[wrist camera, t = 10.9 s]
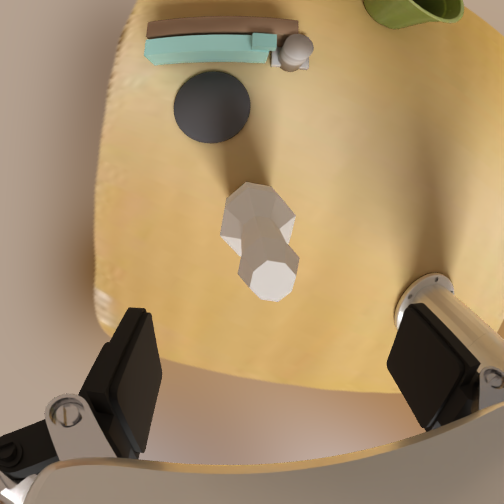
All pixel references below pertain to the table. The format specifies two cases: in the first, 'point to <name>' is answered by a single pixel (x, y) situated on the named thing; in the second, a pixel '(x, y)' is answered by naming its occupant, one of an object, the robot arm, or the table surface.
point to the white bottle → (261, 239)
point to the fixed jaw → (288, 40)
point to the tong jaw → (210, 48)
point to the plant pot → (414, 11)
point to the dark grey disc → (212, 107)
